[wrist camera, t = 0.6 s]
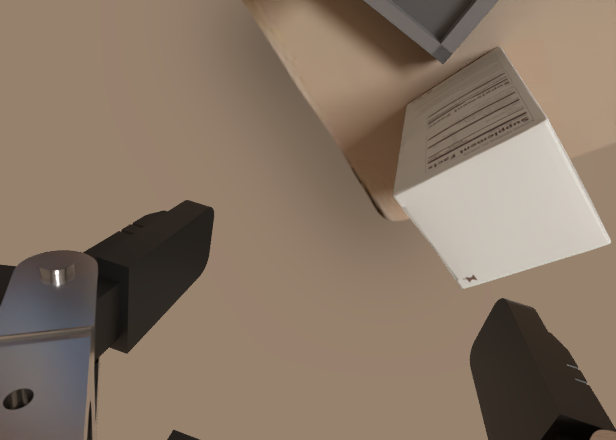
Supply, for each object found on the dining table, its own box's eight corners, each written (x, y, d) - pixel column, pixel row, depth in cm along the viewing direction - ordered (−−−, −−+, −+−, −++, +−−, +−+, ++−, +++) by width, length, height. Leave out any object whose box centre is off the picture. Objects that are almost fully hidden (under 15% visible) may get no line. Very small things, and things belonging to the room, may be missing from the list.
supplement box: (547, 130, 34) (619, 249, 21) (452, 177, 39) (463, 295, 26) (499, 40, 31) (550, 115, 18) (403, 103, 36) (388, 197, 23)
